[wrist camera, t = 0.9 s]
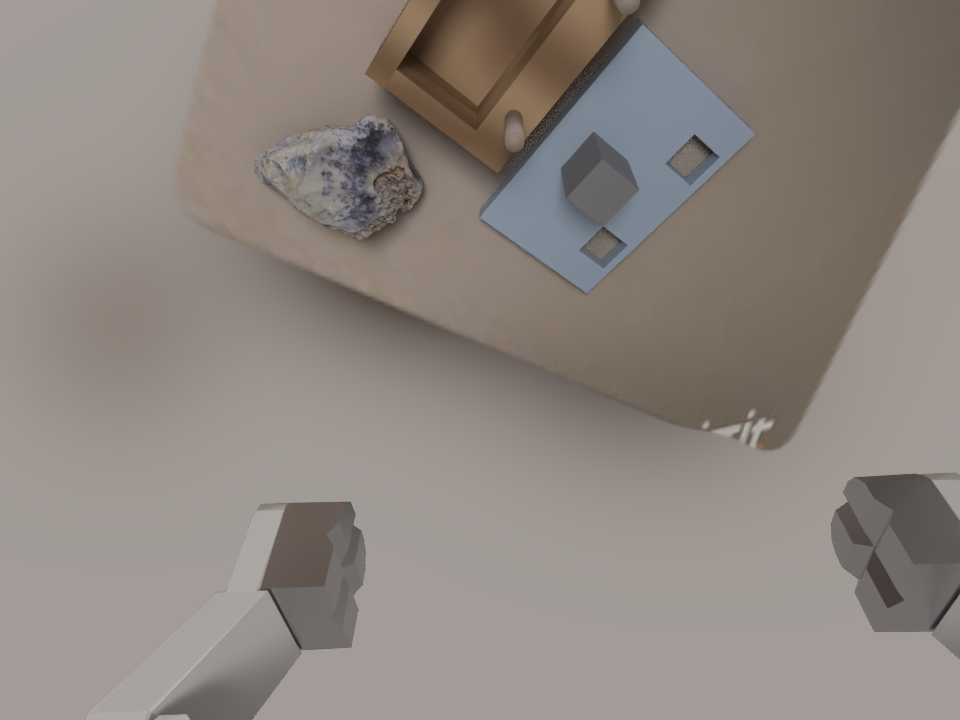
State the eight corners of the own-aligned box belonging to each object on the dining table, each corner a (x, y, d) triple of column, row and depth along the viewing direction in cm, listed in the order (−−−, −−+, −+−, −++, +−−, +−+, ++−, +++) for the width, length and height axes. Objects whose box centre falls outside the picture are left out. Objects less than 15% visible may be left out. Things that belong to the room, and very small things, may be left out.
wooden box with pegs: (532, -202, 30) (541, -213, 24) (661, -65, 33) (700, -40, 27) (378, 49, 37) (353, 94, 31) (497, 141, 41) (497, 199, 34)
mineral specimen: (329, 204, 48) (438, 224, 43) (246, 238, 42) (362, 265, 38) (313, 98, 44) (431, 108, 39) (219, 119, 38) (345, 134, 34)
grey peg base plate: (638, 19, 36) (658, 44, 32) (749, 127, 40) (779, 162, 35) (480, 209, 44) (477, 250, 40) (585, 284, 48) (593, 329, 43)
